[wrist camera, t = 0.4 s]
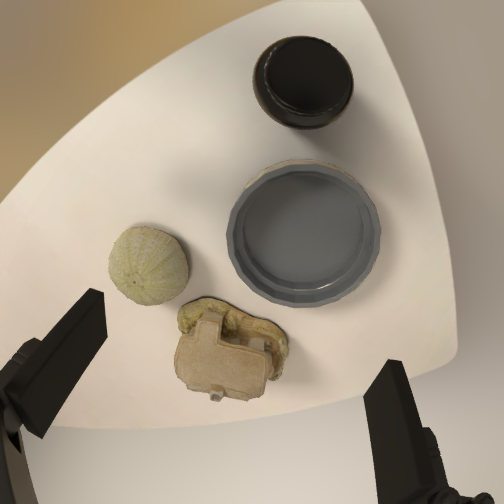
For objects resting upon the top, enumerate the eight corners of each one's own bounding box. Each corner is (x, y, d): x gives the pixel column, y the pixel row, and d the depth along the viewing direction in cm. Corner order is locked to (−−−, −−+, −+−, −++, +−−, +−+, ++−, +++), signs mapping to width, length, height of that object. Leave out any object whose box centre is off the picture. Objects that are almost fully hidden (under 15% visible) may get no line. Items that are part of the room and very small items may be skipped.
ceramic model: (177, 355, 41) (154, 410, 32) (179, 288, 36) (148, 344, 27) (277, 376, 40) (273, 436, 31) (298, 313, 36) (300, 376, 27)
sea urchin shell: (203, 301, 34) (138, 333, 30) (173, 279, 40) (117, 303, 35) (184, 222, 30) (108, 251, 26) (155, 211, 36) (93, 234, 32)
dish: (251, 141, 28) (246, 145, 25) (390, 184, 28) (402, 192, 25) (221, 271, 34) (214, 287, 31) (343, 302, 34) (347, 320, 31)
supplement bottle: (322, 49, 24) (344, 9, 13) (344, 116, 26) (382, 118, 15) (251, 68, 25) (228, 39, 14) (275, 135, 28) (267, 147, 17)
